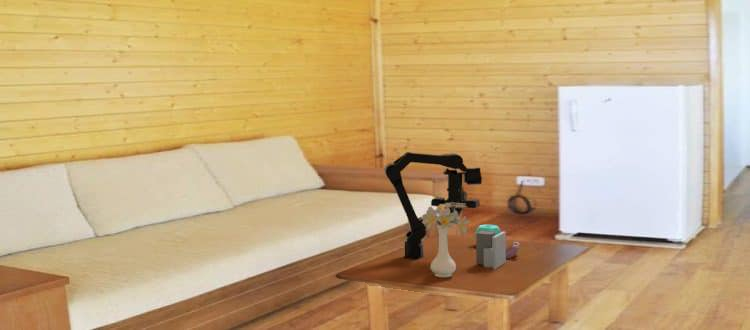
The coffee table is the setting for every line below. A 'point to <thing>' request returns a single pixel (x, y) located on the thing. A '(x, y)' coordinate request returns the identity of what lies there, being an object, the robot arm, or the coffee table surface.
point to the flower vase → (444, 238)
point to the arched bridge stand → (496, 251)
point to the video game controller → (512, 250)
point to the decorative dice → (488, 229)
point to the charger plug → (483, 244)
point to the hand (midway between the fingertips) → (455, 223)
